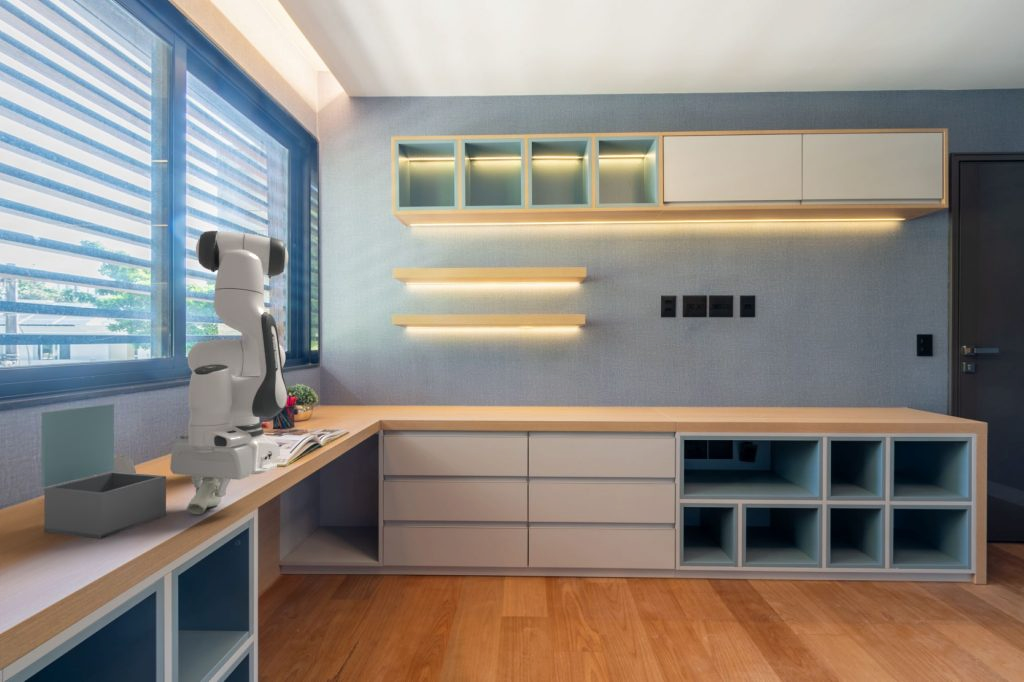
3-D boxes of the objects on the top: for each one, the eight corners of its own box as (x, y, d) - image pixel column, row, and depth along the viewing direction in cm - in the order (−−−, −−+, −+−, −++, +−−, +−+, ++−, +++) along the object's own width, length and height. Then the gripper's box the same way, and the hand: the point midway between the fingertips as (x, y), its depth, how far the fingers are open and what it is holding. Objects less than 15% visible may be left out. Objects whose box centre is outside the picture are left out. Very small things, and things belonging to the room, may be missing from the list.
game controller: (140, 489, 136) (140, 450, 136) (129, 494, 132) (129, 454, 131) (83, 489, 135) (83, 451, 135) (69, 494, 131) (69, 455, 131)
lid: (113, 470, 118) (111, 469, 118) (113, 404, 118) (111, 404, 118) (44, 486, 105) (41, 486, 105) (44, 412, 105) (41, 412, 105)
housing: (113, 511, 118) (113, 471, 118) (166, 517, 114) (166, 476, 114) (44, 533, 105) (44, 488, 105) (100, 540, 101) (100, 494, 101)
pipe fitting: (210, 497, 123) (201, 477, 120) (226, 497, 123) (218, 476, 120) (193, 525, 116) (184, 504, 113) (211, 524, 117) (202, 503, 113)
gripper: (162, 435, 119) (162, 495, 120) (236, 440, 114) (236, 503, 114) (186, 431, 126) (186, 488, 126) (257, 435, 120) (257, 495, 120)
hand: (210, 495), depth 120 cm, fingers closed on pipe fitting, 4 cm apart
